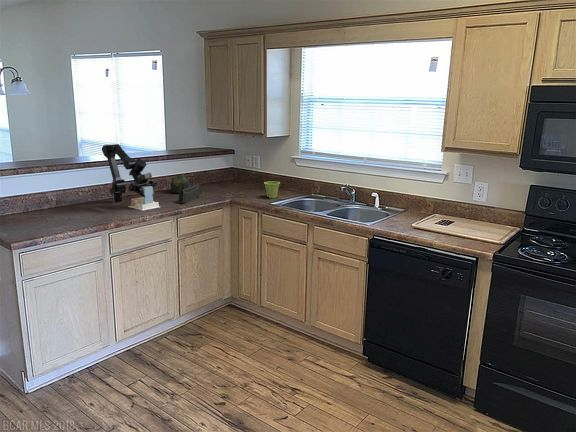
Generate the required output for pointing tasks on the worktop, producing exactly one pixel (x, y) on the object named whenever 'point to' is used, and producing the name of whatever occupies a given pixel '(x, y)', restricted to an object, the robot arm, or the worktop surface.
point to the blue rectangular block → (148, 195)
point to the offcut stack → (136, 202)
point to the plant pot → (272, 189)
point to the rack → (146, 206)
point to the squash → (179, 183)
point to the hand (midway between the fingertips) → (149, 196)
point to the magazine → (189, 193)
